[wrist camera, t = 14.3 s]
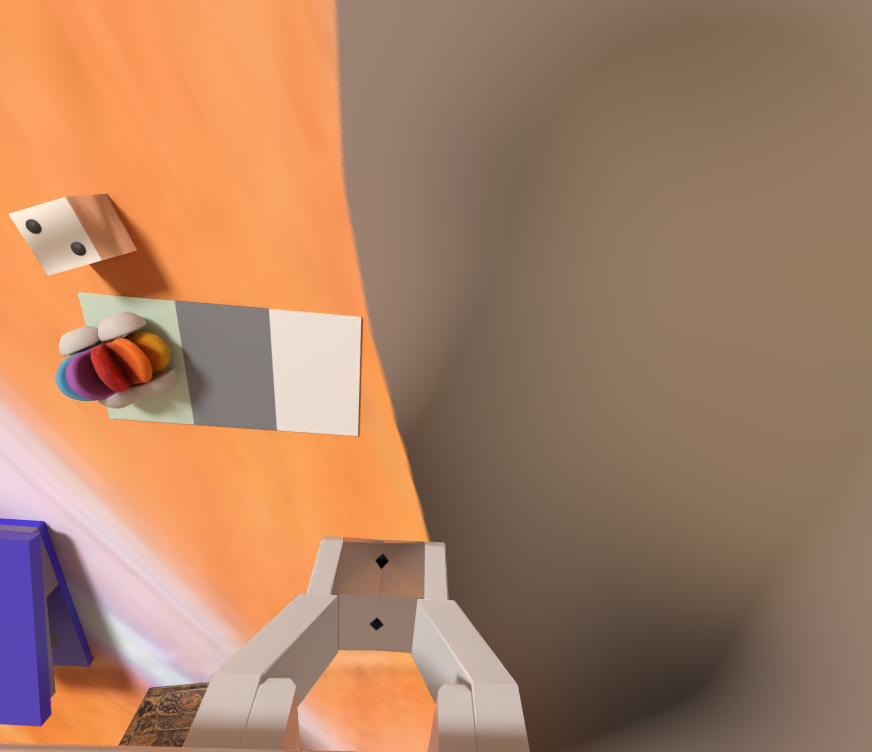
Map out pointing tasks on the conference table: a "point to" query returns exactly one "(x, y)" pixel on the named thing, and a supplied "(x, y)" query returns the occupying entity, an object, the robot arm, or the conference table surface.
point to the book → (165, 716)
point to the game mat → (246, 365)
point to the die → (73, 232)
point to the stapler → (33, 623)
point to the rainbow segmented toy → (114, 362)
